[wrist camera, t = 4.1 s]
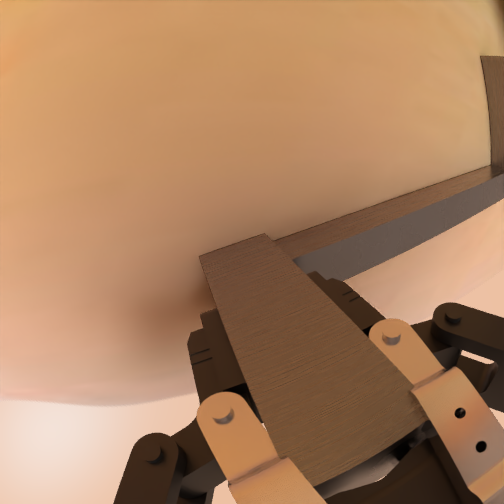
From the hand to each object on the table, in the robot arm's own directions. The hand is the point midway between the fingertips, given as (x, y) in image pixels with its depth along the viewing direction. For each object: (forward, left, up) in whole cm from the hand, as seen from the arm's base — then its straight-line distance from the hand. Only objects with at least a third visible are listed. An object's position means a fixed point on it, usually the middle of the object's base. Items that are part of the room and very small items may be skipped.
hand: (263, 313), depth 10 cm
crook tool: (-4, +11, -3) cm, 12 cm away
